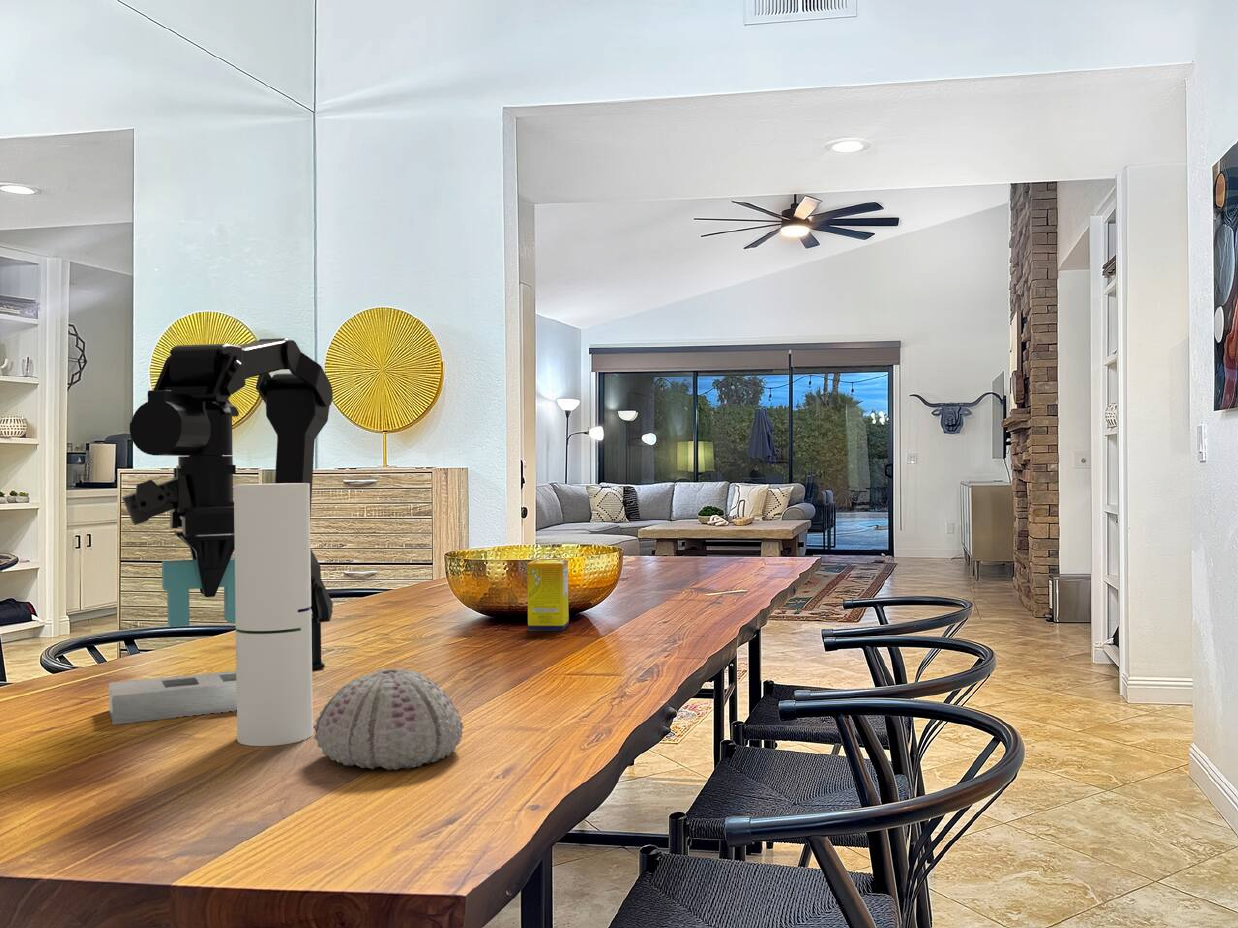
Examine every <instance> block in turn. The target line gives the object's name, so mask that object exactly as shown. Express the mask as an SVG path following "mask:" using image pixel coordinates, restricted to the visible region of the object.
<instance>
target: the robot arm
mask: <svg viewBox="0 0 1238 928" xmlns="http://www.w3.org/2000/svg"><path fill="white" fill-rule="evenodd" d="M169 354H170V355H169V356H167V358H166V360H165V361H164V364H163V366H162V368H161V371H160V373H159V376H158V378H157V380H156V383H155V385H154V387H153V390H152V389H151V390H148V391H147V401H146V402H145V403H143V404H141V405H140V406H139V407H138V408H137V409H136V410H135V412H134V414H133V415H132V419H131V421H130V423H129V434H130V437H131V440H132V443H133V444H134V446H136V448H137V449H139V450H140V451H141V452H142V453H144V454H146V455H150V456H160V457H161V456H163V457H164V456H169V457H170V456H173V457H175V456H177V457H178V459H177V460H178V461H177V462H178V465H176V467H175V468H173V478H172V479H170V480H166V481H164V482H160V483H158V484H157V483H156V482H154V481H153V480H152V479H148V480H146V481H144V482H141V483H136V486H135V492H133V493H130V494H128V495H124V496H122V497H121V499H122V501H123V504H124V506H125V508H126V511H127V513H128V515H129V517H130V520H131V522H132V523H131V524H133V525H138V524H139V525H140V524H142V523H145V522H148V521H149V520H150V518H153V517H156V516H158V515H161V514H163V513H166V512H169V528H171V529H178V528H181V530H182V531H177V532H176V531H174V535H175V536H176V537H177V538H178V539H180V540H181V541H182V542H183V543H184V544H185V545H187V547H188V548H189V551H190V555H191V560H195V559H197V564H198V569H199V574H200V579H201V584H202V588H200V589H199V592H200V594H201V595H203V597H205V598H214V597H215V596H216V595H217V593H218V590H219V588H220V587H219V585H220V583H221V580H222V578H223V575H224V573H225V570H226V568H227V566H228V563H229V561H230V559H231V558H232V557H233V554H234V553H235V534H234V475H235V474H236V472H237V469H236V464H233V463H234V462H233V461H234V458H233V457H234V456H233V454H234V453H233V418H234V417H235V418H236V417H239V415H240V412H239V410H238V408H237V407H236V405H234V404H233V403H232V402H231V401H230V400H229V399H230V398H231V396H232V395H234V394H235V393H237V392H238V391H240V390H241V389H243V388H244V387H245V386H246V385H247V384H246V380H247V379H251V378H254V377H257V376H258V377H257V380H256V385H255V390H256V391H257V393H258V395H259V396H260V397H261V399H262V401H263V402H264V404H265V416H266V418H267V420H268V421H269V424H270V425H271V426H272V428H273V430H274V433H275V434H276V436H277V437H276V438H277V439H276V440H277V441H276V456H275V457H276V458H275V472H274V473H275V474H274V484H281V483H310V520H311V518H312V517H311V514H312V497H313V474H314V458H315V454H314V453H315V443H316V442H315V441H316V439H317V437H318V435H320V432H321V431H322V430H323V428H324V427H325V426H326V424H327V422H328V421H329V414H330V406H331V405H332V403H333V397H334V395H333V386H332V384H331V382H330V380H329V378H328V376H327V374H326V373H325V370H324V369H323V367H322V366H321V364H319V363H318V362H316V361H315V360H314V359H312V358H311V357H309V356H308V355H307V354H305V353H303V352H302V350H301V349H300V348H299V345H298V344H297V342H296V341H295V340H293V339H290V338H288V337H287V338H285V337H284V338H260V339H258V340H256V341H253V342H249V343H243V344H238V345H236V344H230V343H220V344H219V343H216V344H215V343H213V344H212V343H209V344H208V343H207V344H183V345H182V344H181V345H179V344H177V345H175V346H173V347H172V349H170V351H169ZM281 370H289V373H275V374H273V375H272V376H271V374H270V373H273V372H276V371H277V372H278V371H281ZM310 553H311V607H310V608H311V626H312V670H317V669H323V668H326V666H325V665H326V664H325V663H324V662H322V623H327V622H331V619H332V615H333V611H334V610H333V608H334V607H333V606H334V604H333V601H332V599H331V596H330V594H329V593H328V591H327V588H326V586H325V584H324V582H323V580H322V577H321V576H322V574H321V571H322V570H321V565H320V562H319V561H318V559H317V558H316V555H315V553H314V552H313V550H312V549H311V547H310Z"/></svg>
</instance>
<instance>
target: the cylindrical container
mask: <svg viewBox="0 0 1238 928" xmlns="http://www.w3.org/2000/svg"><path fill="white" fill-rule="evenodd" d="M233 501H234V534H235V549H234V557H235V618H236V622H235V629H236V630H235V669H236V670H235V671H236V685H237V711H236V736H237V737H236V739H237V743H238V744H241V745H245V746H251V747H272V746H273V747H275V746H283V745H289V744H290V745H291V744H295V743H298V742H299V743H300V742H302V740H303V741H305V740H307V738H308V739H310V738H311V737H312V736H313V735H314V728H313V727H314V721H313V720H314V718H313V717H314V715H313V714H314V712H313V710H314V708H313V706H314V705H313V704H314V703H313V669H312V626H311V614H312V611H311V608H310V607H311V553H310V548H311V519H310V483H281V484H275V483H243V484H242V483H241V484H239V483H238V484H233ZM309 737H310V738H309Z"/></svg>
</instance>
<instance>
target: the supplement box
mask: <svg viewBox="0 0 1238 928" xmlns="http://www.w3.org/2000/svg"><path fill="white" fill-rule="evenodd" d="M568 562H569V561H568V560H567V559H534V560H531V561H530V562H528V563H526V573H527V574H526V575H527V577H526V578H527V583H526V584H527V586H526V587H527V627H528V628H527V630H528V631H529V632H530V631H531V632H533V631H534V632H536V631H544V632H547V631H550V632H553V631H564V630H565V629H566V628H567V626H569V625H570V624H569V619H570V617H569V616H570V615H569V570H568V568H569V566H568V565H569V564H568Z"/></svg>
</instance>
